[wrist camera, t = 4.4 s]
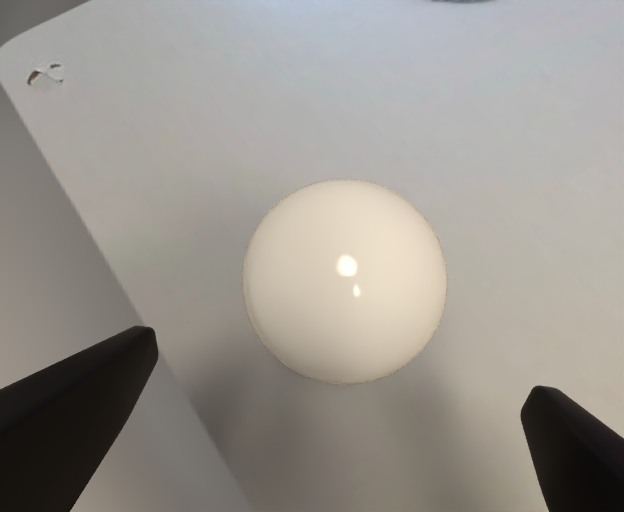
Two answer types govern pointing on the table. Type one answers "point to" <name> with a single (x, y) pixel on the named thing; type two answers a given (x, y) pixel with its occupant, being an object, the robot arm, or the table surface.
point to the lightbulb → (344, 281)
